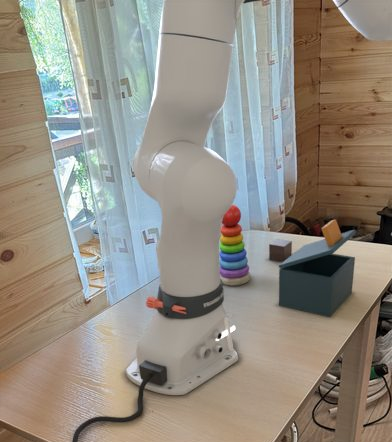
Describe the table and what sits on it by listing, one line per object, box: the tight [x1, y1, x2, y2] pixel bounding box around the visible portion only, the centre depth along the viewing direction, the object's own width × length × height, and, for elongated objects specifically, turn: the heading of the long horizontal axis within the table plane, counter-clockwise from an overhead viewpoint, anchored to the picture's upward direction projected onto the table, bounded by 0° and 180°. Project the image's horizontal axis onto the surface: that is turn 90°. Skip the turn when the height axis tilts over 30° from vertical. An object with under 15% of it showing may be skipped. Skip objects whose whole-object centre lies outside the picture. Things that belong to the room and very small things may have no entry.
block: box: [268, 238, 293, 263], centre depth 136 cm, size 4×4×4 cm
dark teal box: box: [278, 253, 356, 318], centre depth 114 cm, size 12×13×9 cm
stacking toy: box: [219, 204, 251, 286], centre depth 123 cm, size 8×8×19 cm
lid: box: [278, 219, 357, 269], centre depth 109 cm, size 13×13×5 cm
